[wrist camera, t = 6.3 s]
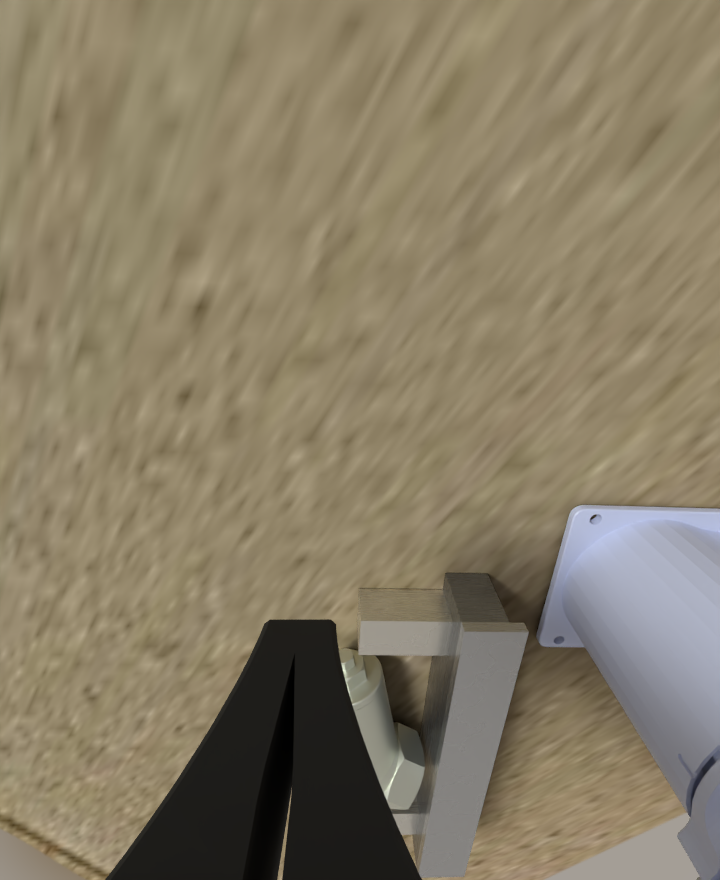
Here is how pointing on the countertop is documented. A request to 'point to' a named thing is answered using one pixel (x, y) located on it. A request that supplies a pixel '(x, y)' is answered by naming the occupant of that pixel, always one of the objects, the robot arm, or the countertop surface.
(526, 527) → the countertop surface
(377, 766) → the pipe fitting
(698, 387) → the countertop surface
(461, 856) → the grey bracket
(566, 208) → the countertop surface
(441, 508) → the countertop surface
